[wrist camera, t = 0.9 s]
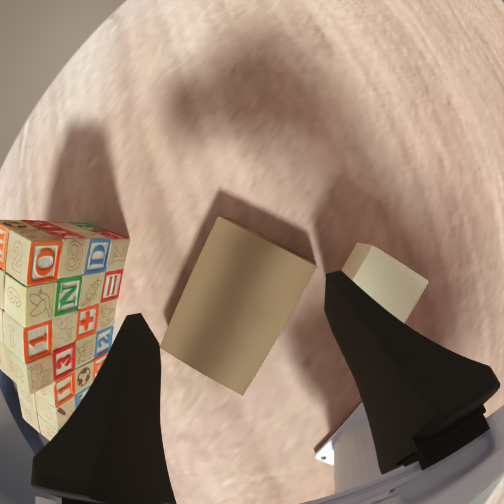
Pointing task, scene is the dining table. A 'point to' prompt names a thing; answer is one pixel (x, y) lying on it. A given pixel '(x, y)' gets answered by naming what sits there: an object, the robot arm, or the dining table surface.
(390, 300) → the cream block
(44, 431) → the stack of blocks
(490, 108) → the dining table surface
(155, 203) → the dining table surface
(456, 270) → the dining table surface
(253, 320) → the tan block
